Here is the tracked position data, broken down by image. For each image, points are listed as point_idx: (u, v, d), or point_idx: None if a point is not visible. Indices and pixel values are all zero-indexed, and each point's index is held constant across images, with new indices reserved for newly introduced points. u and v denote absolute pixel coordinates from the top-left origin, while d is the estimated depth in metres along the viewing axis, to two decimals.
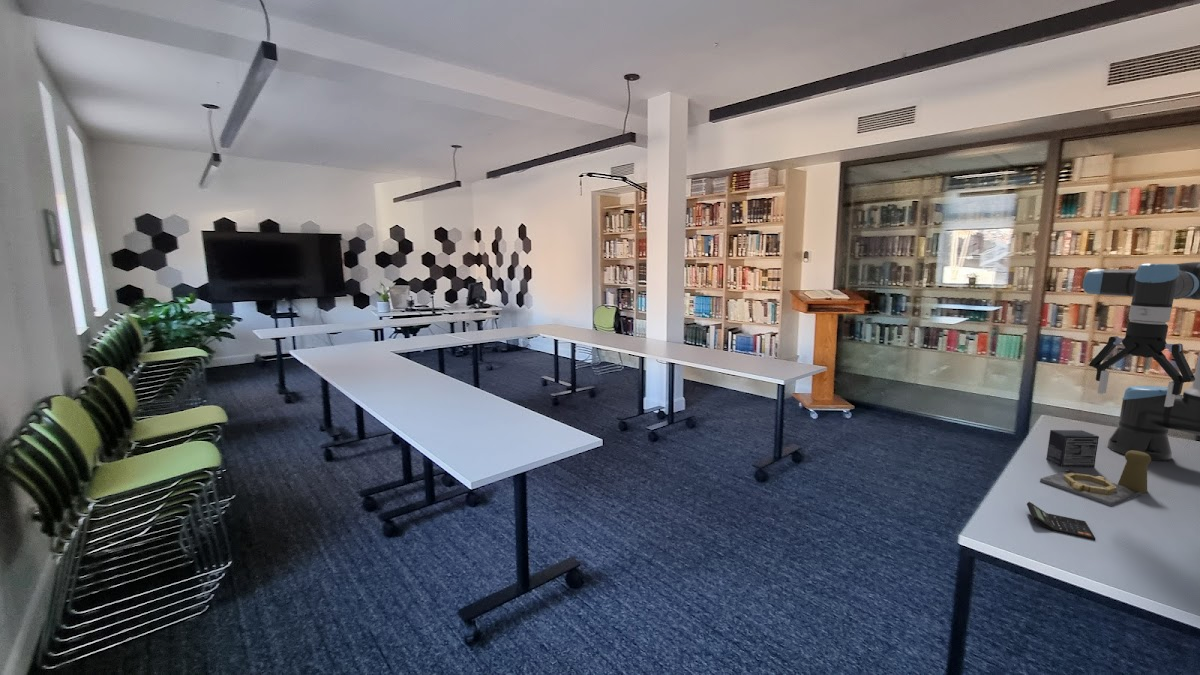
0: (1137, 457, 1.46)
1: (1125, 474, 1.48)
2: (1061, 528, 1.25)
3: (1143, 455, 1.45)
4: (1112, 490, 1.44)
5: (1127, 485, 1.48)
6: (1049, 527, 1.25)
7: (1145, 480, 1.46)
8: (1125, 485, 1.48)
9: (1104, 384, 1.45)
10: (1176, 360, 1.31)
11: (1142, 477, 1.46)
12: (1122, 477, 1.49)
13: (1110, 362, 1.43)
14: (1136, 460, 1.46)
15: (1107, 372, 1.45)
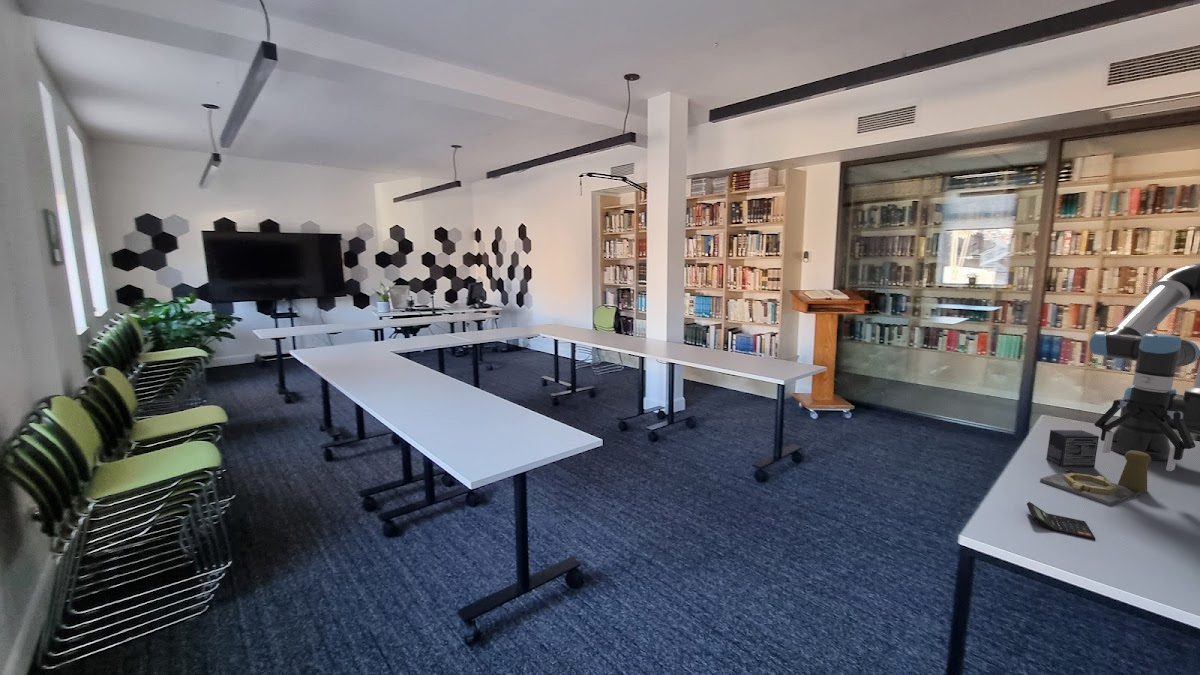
0: (1137, 457, 1.46)
1: (1125, 474, 1.48)
2: (1061, 528, 1.25)
3: (1143, 455, 1.45)
4: (1112, 490, 1.44)
5: (1127, 485, 1.48)
6: (1049, 527, 1.25)
7: (1145, 480, 1.46)
8: (1125, 485, 1.48)
9: (1108, 444, 1.53)
10: (1177, 427, 1.39)
11: (1142, 477, 1.46)
12: (1122, 477, 1.49)
13: (1114, 424, 1.50)
14: (1136, 460, 1.46)
15: (1111, 433, 1.52)
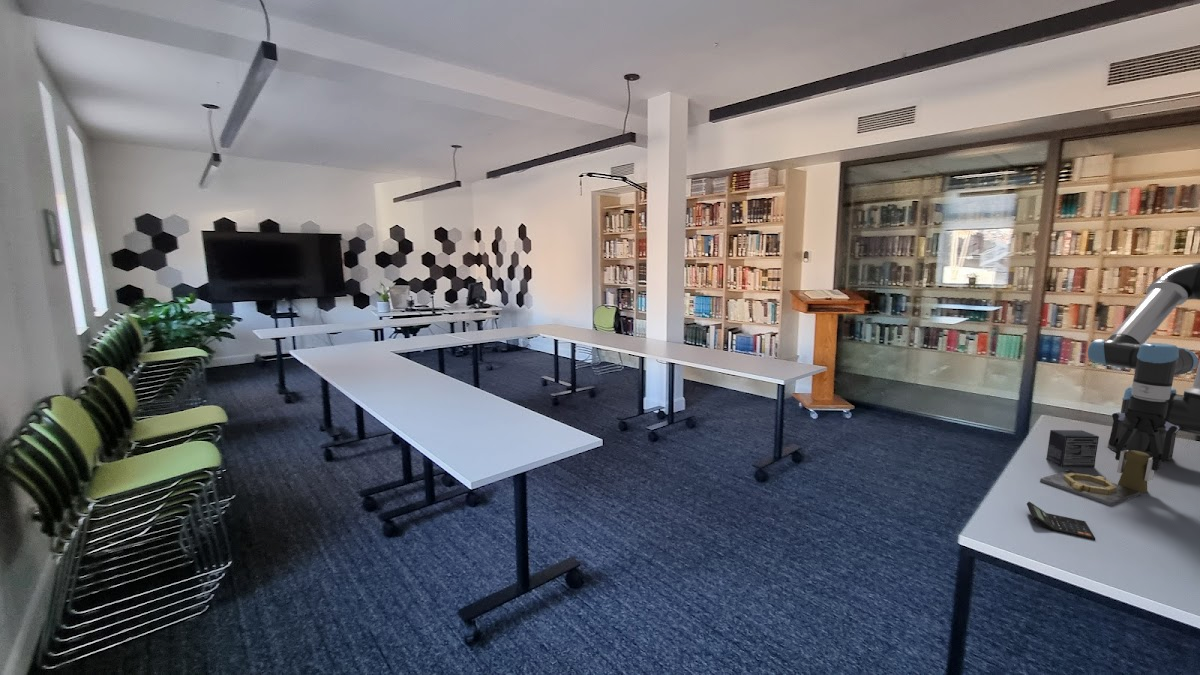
0: (1137, 457, 1.46)
1: (1125, 474, 1.48)
2: (1061, 528, 1.25)
3: (1143, 455, 1.45)
4: (1112, 490, 1.44)
5: (1127, 485, 1.48)
6: (1049, 527, 1.25)
7: None
8: (1125, 485, 1.48)
9: (1123, 463, 1.50)
10: (1166, 439, 1.41)
11: (1142, 477, 1.46)
12: (1122, 477, 1.49)
13: (1125, 440, 1.49)
14: (1136, 460, 1.46)
15: None
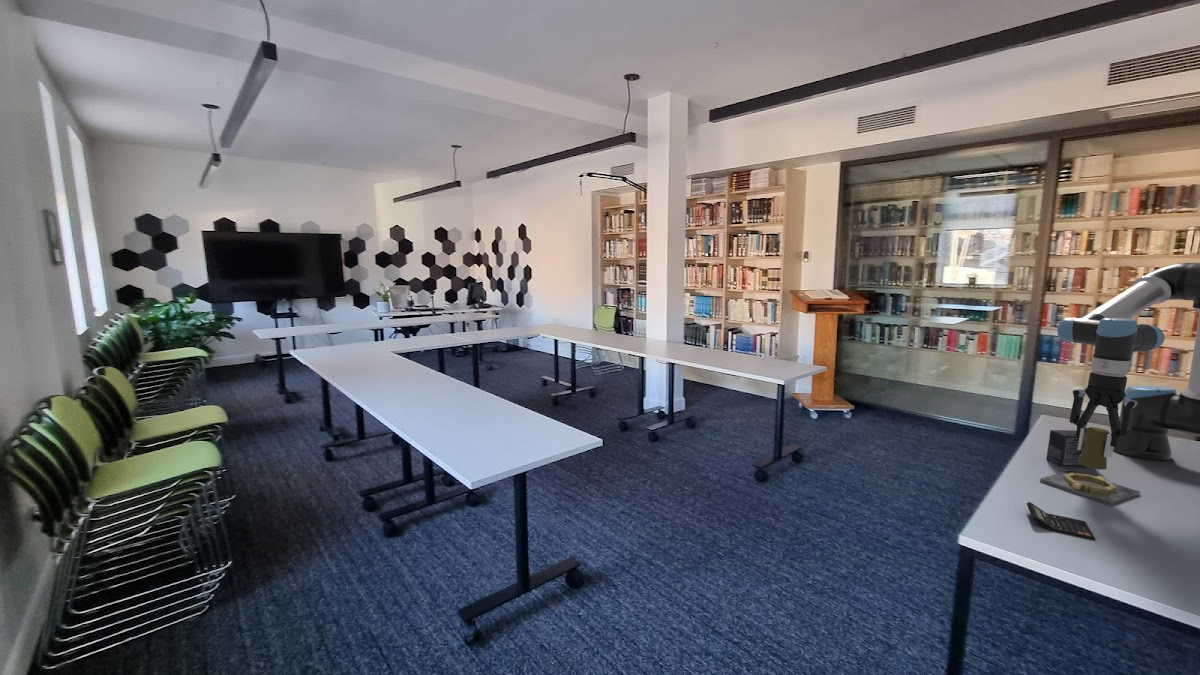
0: (1096, 433, 1.44)
1: (1085, 451, 1.47)
2: (1060, 528, 1.25)
3: (1102, 431, 1.44)
4: (1112, 490, 1.44)
5: (1086, 462, 1.46)
6: (1049, 527, 1.25)
7: (1104, 457, 1.44)
8: (1085, 462, 1.46)
9: (1083, 441, 1.48)
10: (1124, 415, 1.39)
11: (1101, 453, 1.44)
12: (1082, 454, 1.48)
13: (1085, 417, 1.47)
14: (1095, 436, 1.44)
15: None
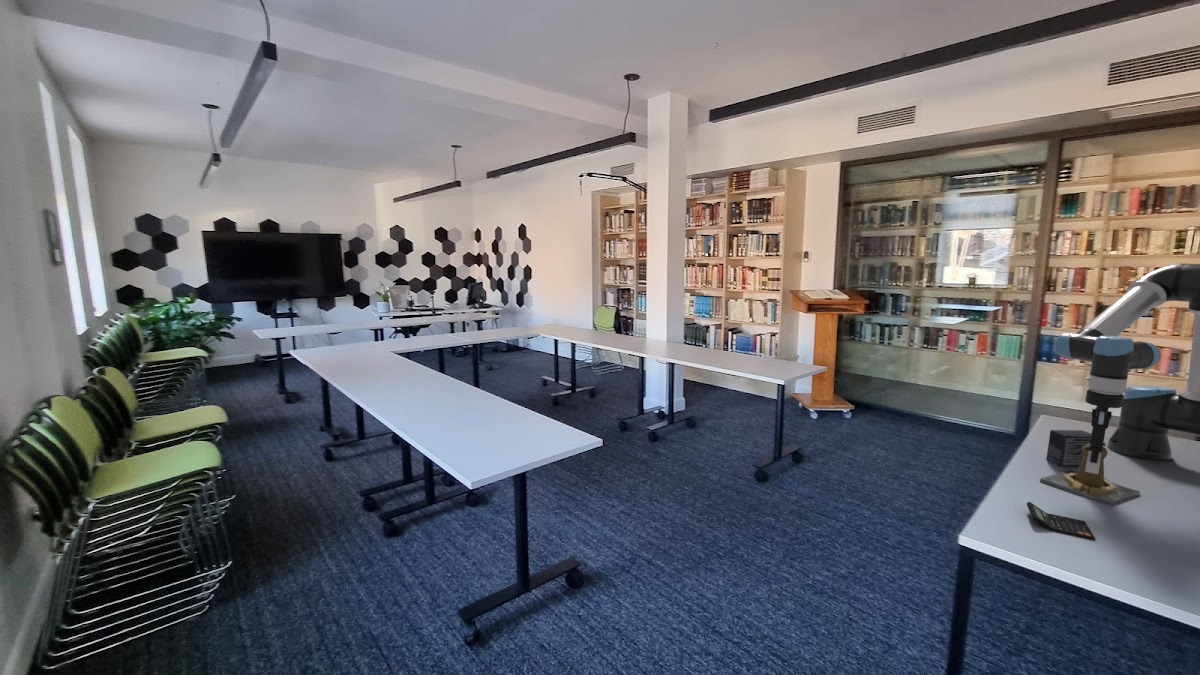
0: (1083, 447, 1.48)
1: None
2: (1060, 528, 1.25)
3: None
4: (1112, 490, 1.44)
5: None
6: (1049, 527, 1.25)
7: None
8: None
9: None
10: (1093, 429, 1.43)
11: (1085, 467, 1.47)
12: None
13: None
14: (1082, 449, 1.48)
15: None
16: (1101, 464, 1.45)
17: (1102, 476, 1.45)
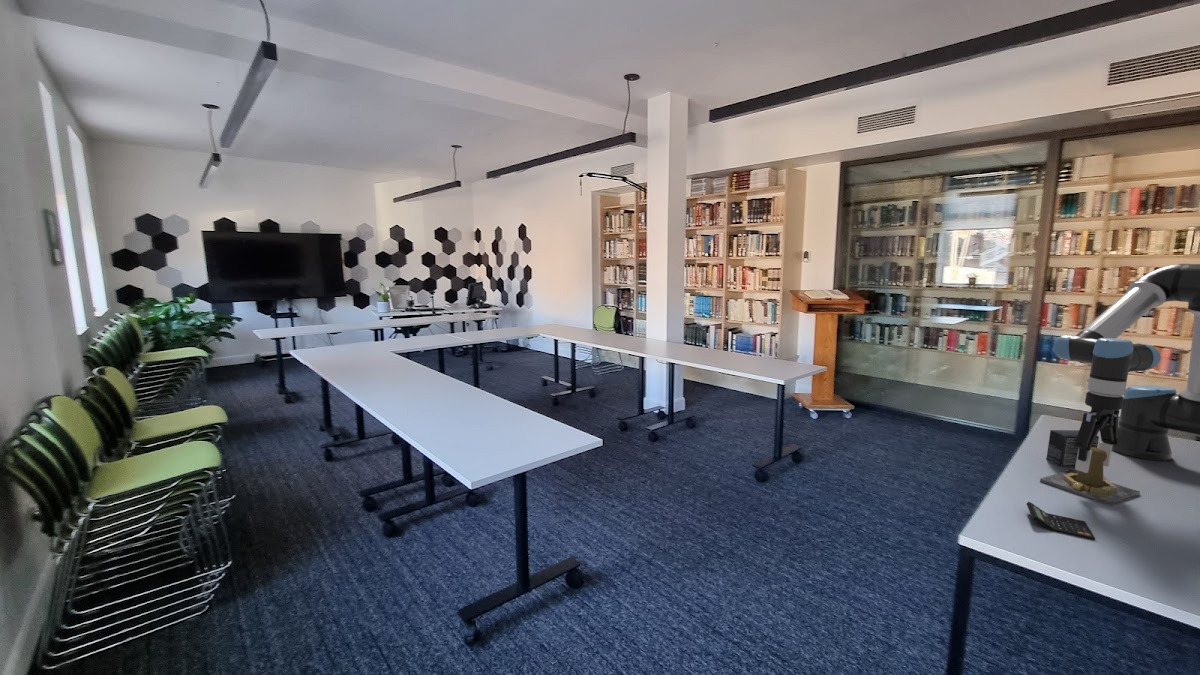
0: None
1: None
2: (1060, 528, 1.25)
3: None
4: (1112, 490, 1.44)
5: None
6: (1049, 527, 1.25)
7: (1084, 474, 1.47)
8: None
9: None
10: None
11: None
12: None
13: None
14: None
15: (1106, 445, 1.48)
16: (1097, 467, 1.45)
17: (1099, 479, 1.45)
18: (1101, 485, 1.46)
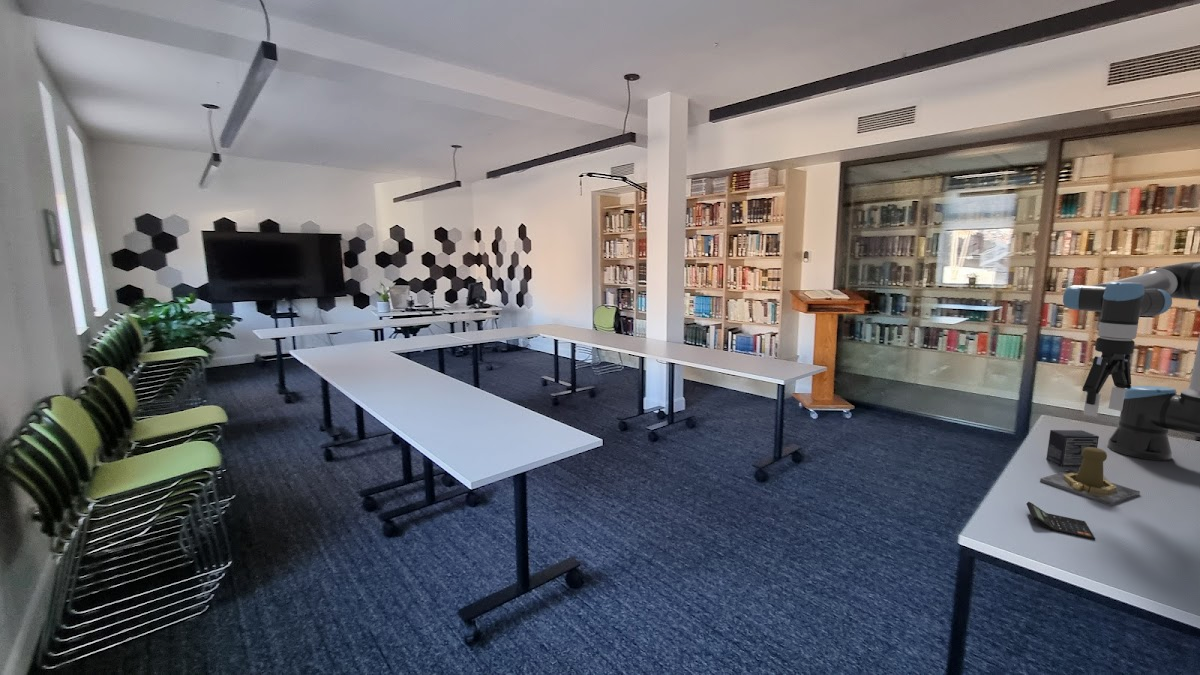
0: (1083, 449, 1.49)
1: None
2: (1060, 528, 1.25)
3: (1087, 448, 1.47)
4: (1112, 490, 1.44)
5: None
6: (1049, 527, 1.25)
7: (1084, 474, 1.47)
8: None
9: (1114, 400, 1.48)
10: None
11: (1081, 469, 1.48)
12: None
13: None
14: (1082, 451, 1.49)
15: (1119, 389, 1.46)
16: (1097, 467, 1.45)
17: (1099, 479, 1.45)
18: (1101, 485, 1.46)
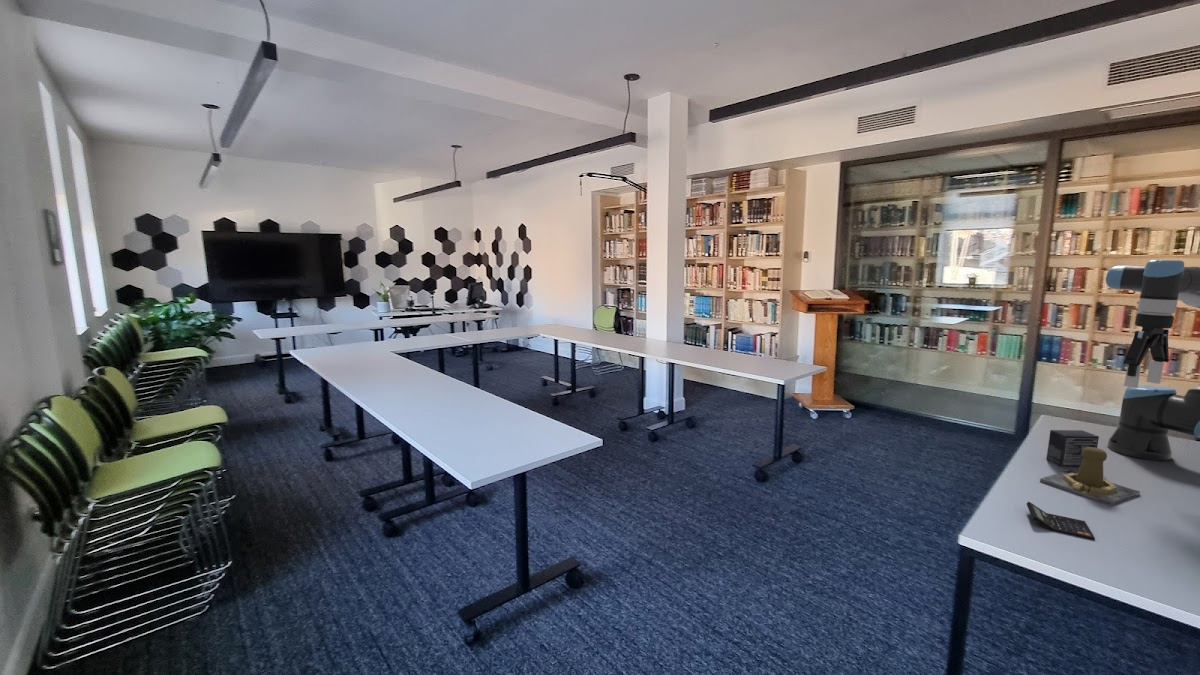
0: (1083, 449, 1.49)
1: None
2: (1060, 528, 1.25)
3: (1087, 448, 1.47)
4: (1112, 490, 1.44)
5: None
6: (1049, 527, 1.25)
7: (1084, 474, 1.47)
8: None
9: (1152, 373, 1.55)
10: None
11: (1081, 469, 1.48)
12: None
13: (1151, 352, 1.54)
14: (1082, 451, 1.49)
15: (1157, 363, 1.54)
16: (1097, 467, 1.45)
17: (1099, 479, 1.45)
18: (1101, 485, 1.46)
